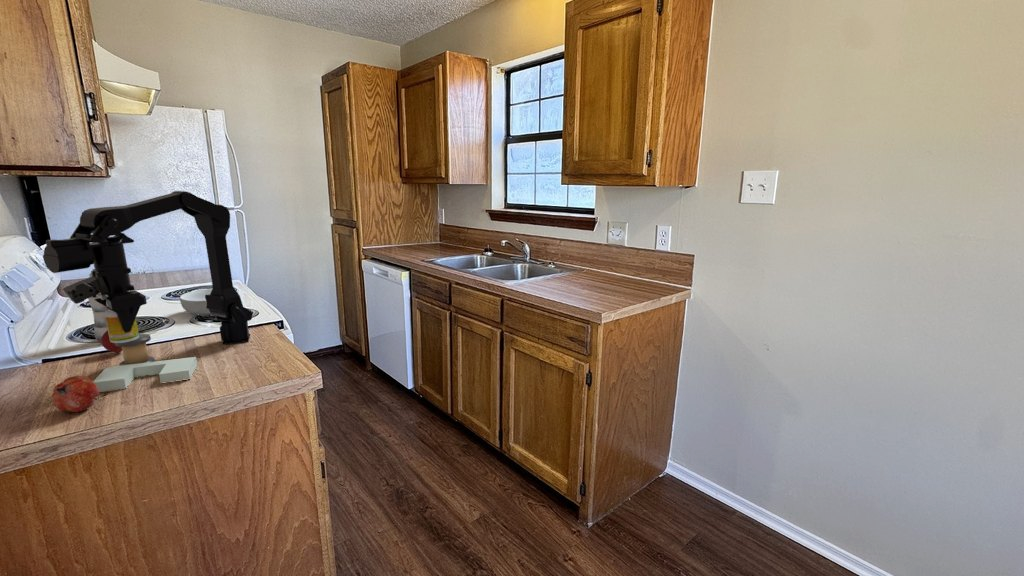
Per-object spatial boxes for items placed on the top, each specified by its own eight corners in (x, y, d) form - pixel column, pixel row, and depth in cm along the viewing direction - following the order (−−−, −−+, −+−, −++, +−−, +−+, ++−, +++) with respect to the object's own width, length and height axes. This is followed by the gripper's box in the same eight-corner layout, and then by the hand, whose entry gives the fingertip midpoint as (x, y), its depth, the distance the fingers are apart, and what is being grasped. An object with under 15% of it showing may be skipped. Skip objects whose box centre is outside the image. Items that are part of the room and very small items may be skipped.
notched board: (197, 365, 118) (196, 356, 118) (190, 380, 110) (188, 370, 110) (108, 376, 111) (106, 367, 111) (94, 392, 103) (91, 382, 103)
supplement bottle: (141, 339, 110) (134, 300, 107) (111, 345, 106) (103, 304, 104) (137, 334, 113) (130, 295, 111) (108, 339, 110) (100, 299, 107)
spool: (157, 357, 123) (153, 332, 121) (150, 367, 117) (145, 341, 115) (125, 361, 120) (120, 335, 119) (115, 371, 114) (110, 345, 112)
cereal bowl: (169, 318, 155) (166, 298, 153) (209, 305, 171) (206, 286, 169) (214, 322, 152) (212, 301, 151) (250, 308, 168) (248, 289, 166)
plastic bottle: (92, 346, 130) (78, 276, 125) (100, 338, 136) (86, 271, 131) (121, 342, 133) (108, 274, 128) (127, 335, 138) (115, 270, 134)
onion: (116, 358, 122) (110, 329, 120) (98, 355, 123) (92, 327, 121) (137, 350, 128) (132, 322, 126) (120, 348, 129) (115, 320, 127)
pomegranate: (75, 411, 100) (26, 403, 91) (94, 378, 102) (49, 367, 93) (103, 419, 98) (56, 412, 89) (122, 385, 101) (78, 375, 92)
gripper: (52, 264, 104) (67, 329, 108) (73, 276, 94) (89, 348, 97) (115, 257, 113) (127, 318, 117) (141, 268, 102) (153, 334, 106)
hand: (123, 329), depth 109 cm, fingers closed on supplement bottle, 5 cm apart
